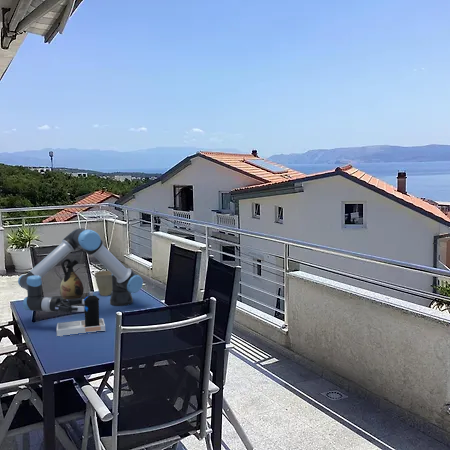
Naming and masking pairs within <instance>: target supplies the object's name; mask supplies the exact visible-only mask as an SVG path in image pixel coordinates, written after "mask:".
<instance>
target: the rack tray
mask: <svg viewBox="0 0 450 450" xmlns="http://www.w3.org/2000/svg"><path fill="white" fill-rule="evenodd" d="M99 325H100V326H91V327H85V319H84V320H73V321H64V322H57V323H56V337H57V336H60V337H64V336H63V335H70V334H78V333H86V332H96V331H105V332H106V324H105V320H104V318H99ZM70 336H71V335H70Z"/></svg>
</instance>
